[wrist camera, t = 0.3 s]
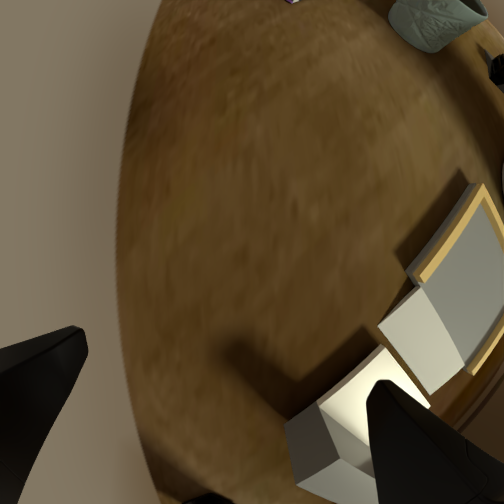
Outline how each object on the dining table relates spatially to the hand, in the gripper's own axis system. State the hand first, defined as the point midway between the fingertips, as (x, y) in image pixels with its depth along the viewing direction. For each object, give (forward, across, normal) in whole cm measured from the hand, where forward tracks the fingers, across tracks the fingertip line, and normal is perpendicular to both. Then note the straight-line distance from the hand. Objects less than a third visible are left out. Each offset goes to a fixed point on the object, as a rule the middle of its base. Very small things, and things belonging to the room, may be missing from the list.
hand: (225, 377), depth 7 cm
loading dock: (+17, -25, +3) cm, 30 cm away
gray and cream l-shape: (+12, -14, +16) cm, 25 cm away
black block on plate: (+27, -37, -34) cm, 57 cm away
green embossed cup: (+25, -17, -31) cm, 43 cm away
